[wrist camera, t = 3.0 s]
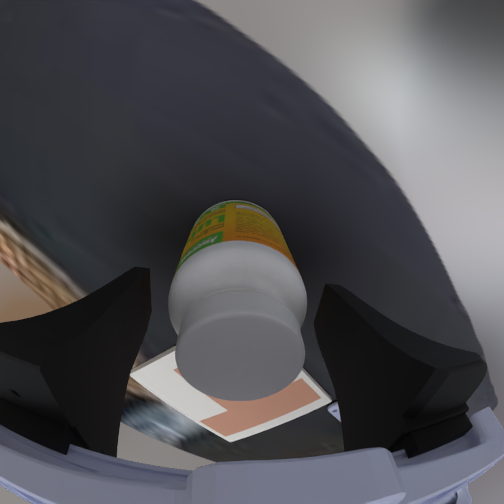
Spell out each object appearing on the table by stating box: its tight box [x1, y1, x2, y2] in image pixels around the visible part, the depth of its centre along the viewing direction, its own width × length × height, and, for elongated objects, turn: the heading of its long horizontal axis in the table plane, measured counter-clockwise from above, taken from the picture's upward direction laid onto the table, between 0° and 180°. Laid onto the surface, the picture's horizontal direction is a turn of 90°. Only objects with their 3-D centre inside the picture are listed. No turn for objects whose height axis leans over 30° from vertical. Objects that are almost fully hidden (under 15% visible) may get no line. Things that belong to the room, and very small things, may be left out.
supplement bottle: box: [168, 200, 307, 401], centre depth 12 cm, size 5×5×10 cm
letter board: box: [130, 346, 332, 442], centre depth 22 cm, size 14×12×1 cm
